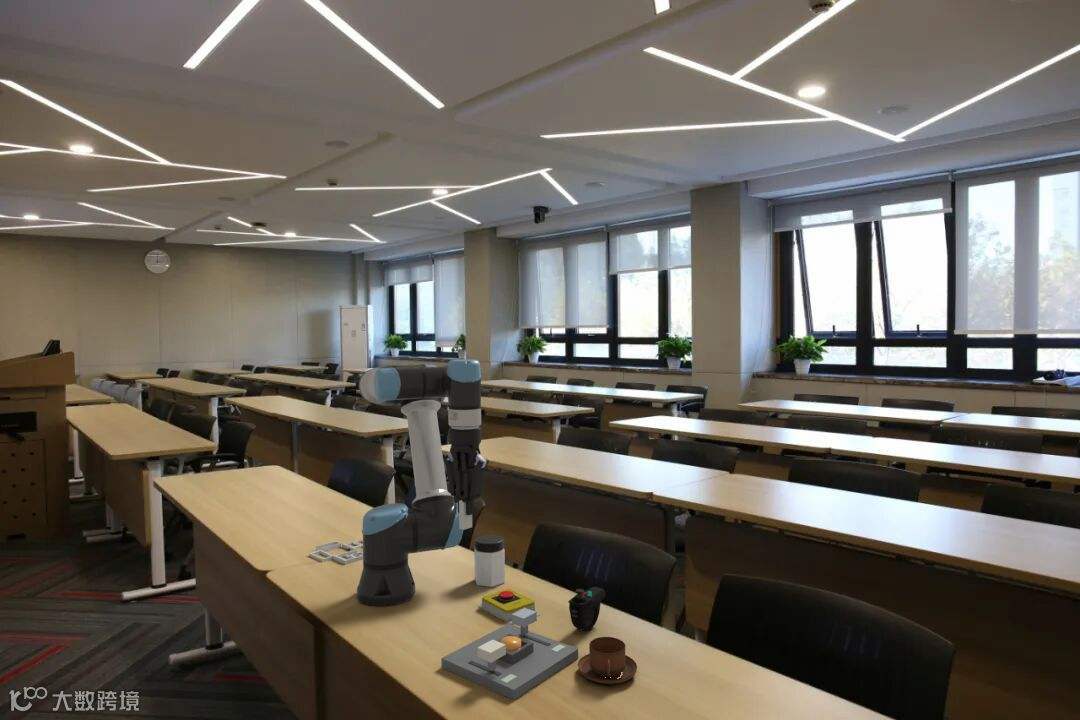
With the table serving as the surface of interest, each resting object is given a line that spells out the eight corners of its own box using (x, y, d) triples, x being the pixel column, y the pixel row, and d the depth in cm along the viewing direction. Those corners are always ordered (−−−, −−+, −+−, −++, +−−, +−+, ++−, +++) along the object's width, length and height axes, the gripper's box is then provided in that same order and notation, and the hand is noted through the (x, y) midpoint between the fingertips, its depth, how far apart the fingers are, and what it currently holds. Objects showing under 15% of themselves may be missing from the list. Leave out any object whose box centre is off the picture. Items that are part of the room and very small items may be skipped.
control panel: (441, 667, 142) (441, 648, 142) (508, 632, 158) (508, 615, 158) (514, 700, 129) (513, 679, 129) (578, 657, 146) (578, 639, 146)
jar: (468, 584, 187) (468, 542, 187) (480, 574, 195) (480, 533, 195) (499, 588, 185) (499, 545, 184) (509, 578, 192) (509, 536, 192)
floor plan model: (285, 560, 210) (285, 554, 210) (357, 541, 228) (356, 535, 228) (316, 575, 197) (316, 568, 197) (389, 553, 215) (389, 547, 215)
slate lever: (511, 634, 151) (511, 614, 151) (524, 628, 155) (524, 607, 154) (524, 639, 149) (523, 618, 149) (536, 632, 152) (536, 611, 152)
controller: (565, 634, 157) (565, 592, 156) (592, 615, 167) (592, 575, 167) (581, 639, 154) (581, 596, 154) (608, 620, 165) (608, 579, 164)
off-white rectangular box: (477, 670, 136) (477, 647, 135) (492, 662, 139) (492, 639, 139) (491, 676, 133) (490, 652, 133) (505, 667, 137) (505, 644, 137)
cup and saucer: (647, 684, 135) (647, 654, 135) (590, 694, 132) (590, 663, 132) (622, 656, 147) (622, 628, 146) (570, 664, 143) (569, 636, 143)
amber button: (495, 652, 143) (495, 641, 143) (509, 645, 147) (509, 634, 147) (511, 659, 141) (511, 647, 141) (525, 651, 144) (525, 640, 144)
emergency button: (505, 581, 179) (542, 599, 168) (505, 598, 179) (542, 616, 168) (476, 590, 173) (512, 609, 162) (476, 607, 174) (512, 627, 162)
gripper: (433, 426, 158) (434, 526, 159) (473, 431, 150) (474, 537, 151) (456, 422, 164) (457, 519, 165) (496, 427, 156) (497, 529, 157)
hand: (465, 527), depth 158 cm, fingers closed
